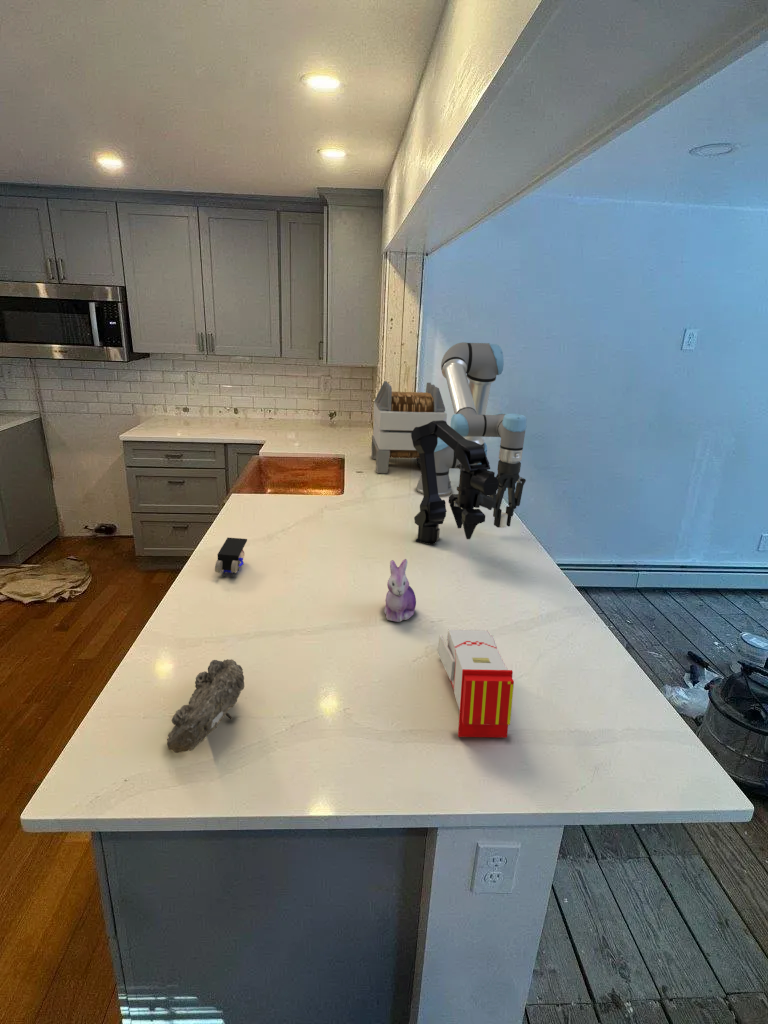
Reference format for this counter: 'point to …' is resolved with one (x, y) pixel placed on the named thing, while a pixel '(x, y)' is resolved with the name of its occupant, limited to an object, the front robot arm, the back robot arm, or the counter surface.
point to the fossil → (206, 705)
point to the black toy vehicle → (230, 556)
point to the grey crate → (402, 421)
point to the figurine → (399, 594)
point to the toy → (478, 682)
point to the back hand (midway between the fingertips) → (501, 525)
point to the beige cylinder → (503, 520)
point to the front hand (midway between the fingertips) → (463, 533)
